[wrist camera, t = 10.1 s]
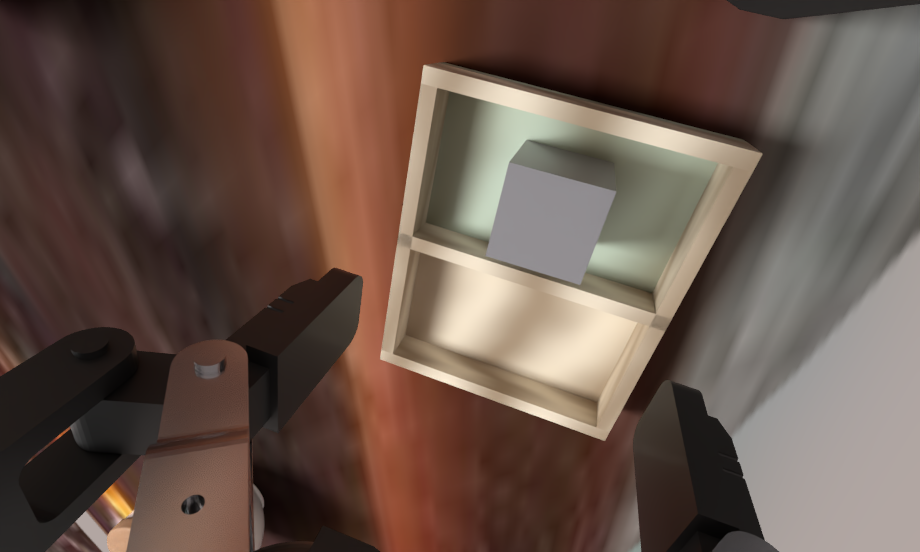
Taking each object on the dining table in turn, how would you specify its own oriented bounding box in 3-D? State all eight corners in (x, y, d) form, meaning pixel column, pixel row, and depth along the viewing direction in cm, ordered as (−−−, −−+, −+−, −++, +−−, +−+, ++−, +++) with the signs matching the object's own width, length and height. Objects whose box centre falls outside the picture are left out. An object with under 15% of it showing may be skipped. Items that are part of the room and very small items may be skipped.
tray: (397, 333, 32) (380, 359, 30) (443, 62, 23) (423, 65, 21) (604, 406, 30) (604, 440, 28) (743, 139, 21) (763, 153, 19)
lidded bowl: (307, 530, 48) (235, 649, 39) (226, 529, 53) (145, 635, 44) (245, 442, 44) (147, 552, 34) (163, 450, 49) (59, 548, 40)
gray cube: (505, 219, 25) (485, 256, 21) (526, 139, 23) (509, 162, 19) (584, 242, 25) (580, 285, 20) (614, 162, 22) (616, 191, 18)
